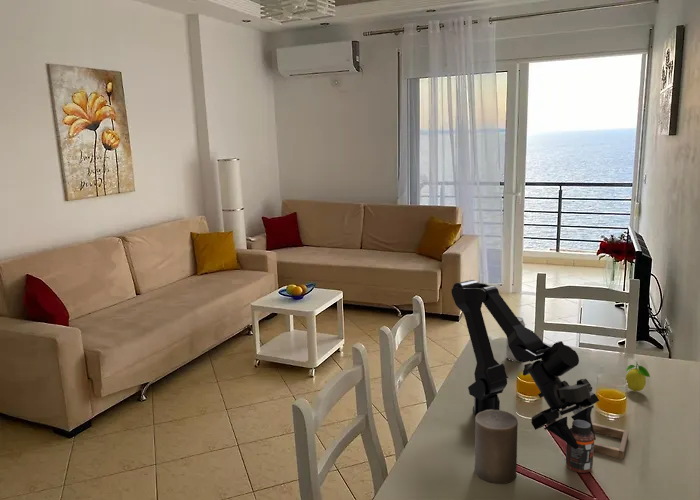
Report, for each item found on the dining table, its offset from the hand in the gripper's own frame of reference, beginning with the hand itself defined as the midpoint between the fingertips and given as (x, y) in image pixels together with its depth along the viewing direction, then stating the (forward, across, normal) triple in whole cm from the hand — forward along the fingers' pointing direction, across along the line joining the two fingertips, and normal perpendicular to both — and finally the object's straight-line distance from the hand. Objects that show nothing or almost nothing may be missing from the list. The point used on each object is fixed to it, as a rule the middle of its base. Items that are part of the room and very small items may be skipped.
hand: (585, 444), depth 127 cm
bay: (+1, +14, +8) cm, 16 cm away
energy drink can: (-34, +37, +44) cm, 67 cm away
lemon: (-7, +48, +17) cm, 51 cm away
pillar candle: (-3, -18, +13) cm, 22 cm away
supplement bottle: (+4, 0, +6) cm, 7 cm away
